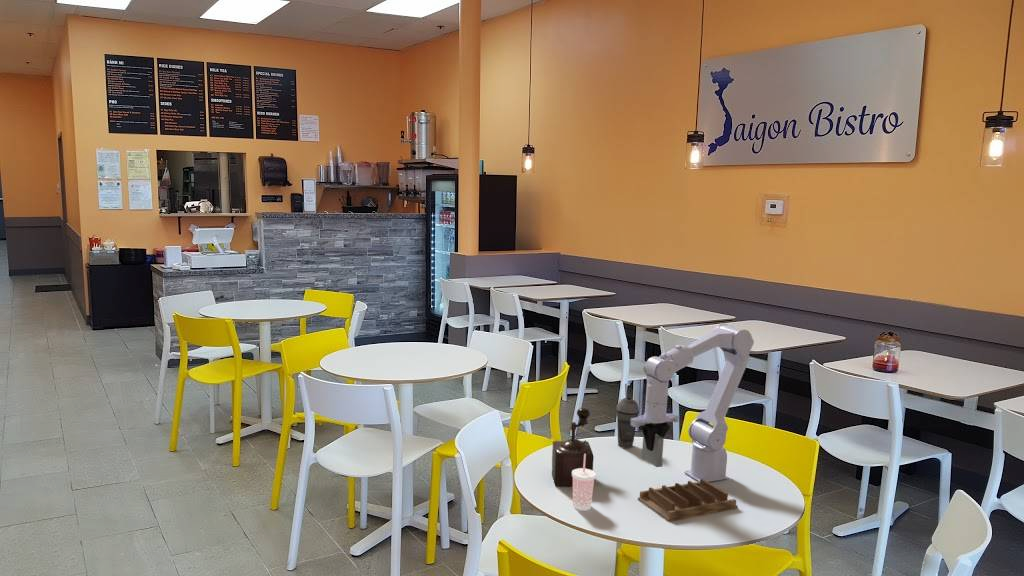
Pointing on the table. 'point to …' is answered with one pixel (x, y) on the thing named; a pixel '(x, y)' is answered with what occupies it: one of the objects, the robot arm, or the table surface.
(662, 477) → the table surface
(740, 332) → the robot arm
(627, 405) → the beverage cup
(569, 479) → the coffee grinder
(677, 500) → the dish rack
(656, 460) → the grey upright slab
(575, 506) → the beverage cup
